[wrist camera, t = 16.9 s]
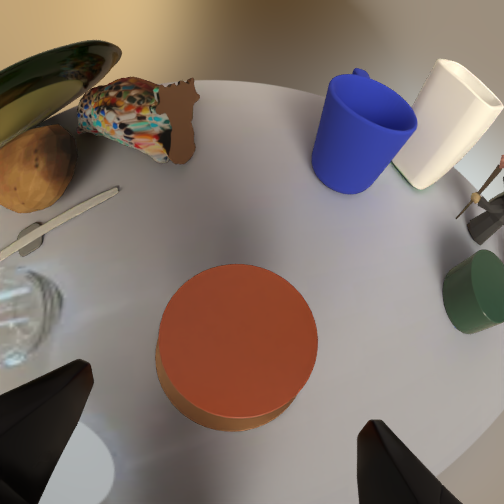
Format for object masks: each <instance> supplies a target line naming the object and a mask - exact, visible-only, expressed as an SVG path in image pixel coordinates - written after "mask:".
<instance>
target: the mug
mask: <svg viewBox="0 0 504 504" xmlns="http://www.w3.org/2000/svg"><path fill="white" fill-rule="evenodd" d="M417 125H418V122H417V117H416V115H415V113H414V111H413V109H412V108H411V107H410V106H409V104H408V103H407V102H406V101H405V100H404V99H403V98H402V97H401V96H400V95H398V94H397V93H396V92H395V91H393V90H392V89H390V88H388V87H386V86H385V85H383V84H381V83H379V82H377V81H375V80H372V79H370V77H369V75H368V73H367V72H366V71H364V70H362V69H359V68H355V69H354V71H353V74H343V75H339V76H336V77H334V78H333V79H332V80H331V81H330V83H329V87H328V91H327V95H326V99H325V103H324V107H323V111H322V116H321V120H320V124H319V128H318V132H317V136H316V140H315V144H314V148H313V152H312V166H313V169H314V172H315V174H316V175H317V177H318V178H319V179H320V180H321V181H322V182H323V183H324V184H325V185H326V186H328V187H329V188H331V189H332V190H335V191H337V192H340V193H344V194H357V193H360V192H362V191H364V190H366V189H367V188H368V187H370V186H371V185H372V184H373V182H374V181H375V180H376V179H377V178H378V176H379V175H380V174H381V173H382V172H383V170H384V169H385V168H386V167H387V165H388V164H389V163H390V162H391V161H392V159H393V158H394V157H395V156H396V154H397V153H398V152H399V151H400V149H401V148H402V147H403V146H404V144H405V143H406V142H407V141H408V139H409V138H410V137H411V136H412V134H413V133H414V132H415V131H416V129H417Z"/></svg>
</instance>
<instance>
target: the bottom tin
mask: <svg viewBox="0 0 504 504" xmlns="http://www.w3.org/2000/svg"><path fill="white" fill-rule="evenodd" d="M443 300H444V305H445V309H446V312H447V314H448V317H449V319H450V320H451V322H452V323H453V325H454V326H455V327H456V328H457V329H458V330H459V331H461V332H463V333H465V334H473V333H476V332H479V331H482V330H485V329H487V328H490V327H493V326H495V325H498V324H501V323H503V322H504V265H503V263H502V262H501V260H500V259H499V258H498V257H497V256H496V255H495V254H494V253H492V252H491V251H489V250H479V251H478V252H476V253H475V254H473V255H472V256H470V257H469V258H467V259H466V260H465V261H463V262H462V263H460V264H458V265H457V266H455V267H454V268H452V269H451V270H450V271H449V272H448V274H447V275H446V277H445V280H444V285H443Z"/></svg>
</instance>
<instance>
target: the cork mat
mask: <svg viewBox="0 0 504 504" xmlns="http://www.w3.org/2000/svg"><path fill="white" fill-rule="evenodd" d="M155 360H156V370H157V374H158V378H159V381H160V384H161V386H162V388H163V390H164V392H165V394H166V396H167V397H168V399H169V400H170V401H171V403H172V404H173V405H174V406H175V407H176V408H177V409H178V410H179V411H180V412H181V413H182V414H183V415H185V416H186V417H187V418H189V419H190V420H192V421H194V422H195V423H197V424H200V425H202V426H204V427H207V428H211V429H214V430H220V431H231V432H236V431H245V430H250V429H254V428H257V427H259V426H262V425H264V424H266V423H268V422H270V421H272V420H274V419H275V418H276V417H278V416H279V415H280V414H282V413H283V412H284V411H285V410H286V409H287V408H288V407H289V406H290V404H291V403H292V402H293V400H294V399H295V397H296V396H297V395H296V396H295V397H294V398H292V399H291V400H290V401H289V402H288V403H286V404H285V405H283V406H282V407H280V408H279V409H276V410H274V411H272V412H270V413H268V414H265V415H261V416H258V417H252V418H242V419H236V418H226V417H221V416H217V415H214V414H211V413H208V412H206V411H204V410H202V409H200V408H198V407H196V406H195V405H193V404H192V403H191V402H189V401H188V400H187V399H185V398H184V397H183V396H182V395H181V394H180V393H179V392H178V390H177V389H176V388H175V387H174V385H173V384H172V383H171V381H170V379H169V378H168V376H167V374H166V372H165V369H164V367H163V365H162V361H161V357H160V352H159V337H158V341H157V346H156V356H155Z"/></svg>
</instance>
